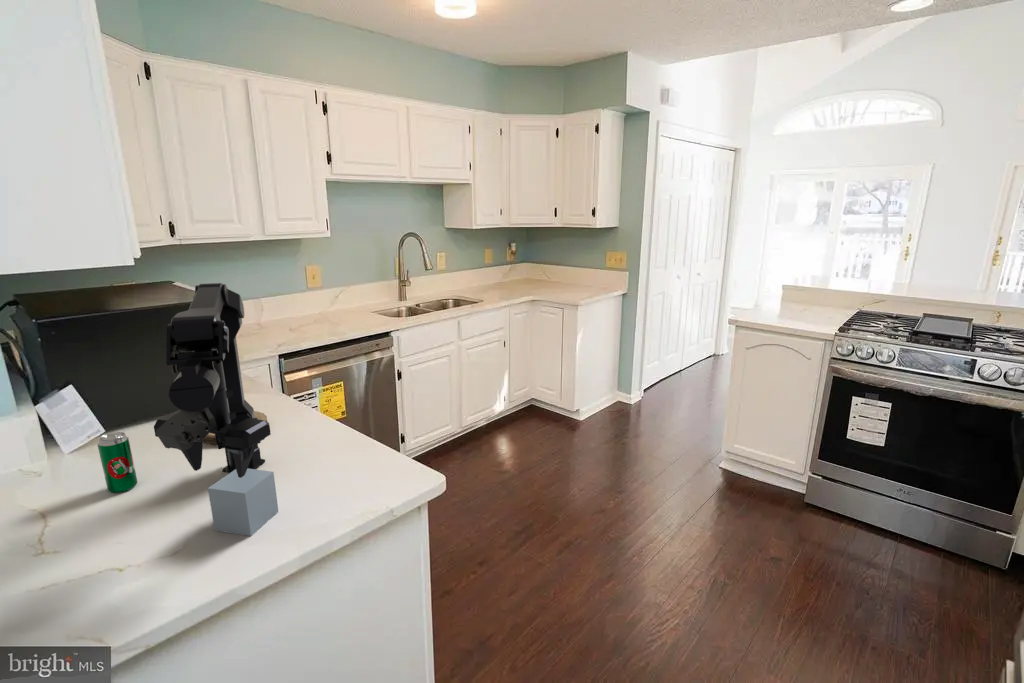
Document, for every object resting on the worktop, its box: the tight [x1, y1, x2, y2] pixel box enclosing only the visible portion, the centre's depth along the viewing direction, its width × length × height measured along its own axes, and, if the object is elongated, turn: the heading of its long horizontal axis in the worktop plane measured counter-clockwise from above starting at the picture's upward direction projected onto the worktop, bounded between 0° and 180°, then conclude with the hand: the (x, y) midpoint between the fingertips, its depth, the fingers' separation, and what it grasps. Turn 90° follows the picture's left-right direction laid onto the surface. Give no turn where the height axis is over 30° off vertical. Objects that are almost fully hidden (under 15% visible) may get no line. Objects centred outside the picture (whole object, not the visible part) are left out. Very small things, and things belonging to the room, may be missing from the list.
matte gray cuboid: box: [207, 468, 279, 537], centre depth 94 cm, size 8×8×9 cm
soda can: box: [97, 431, 138, 494], centre depth 104 cm, size 5×5×12 cm
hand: (219, 473), depth 87 cm, fingers open, 9 cm apart
